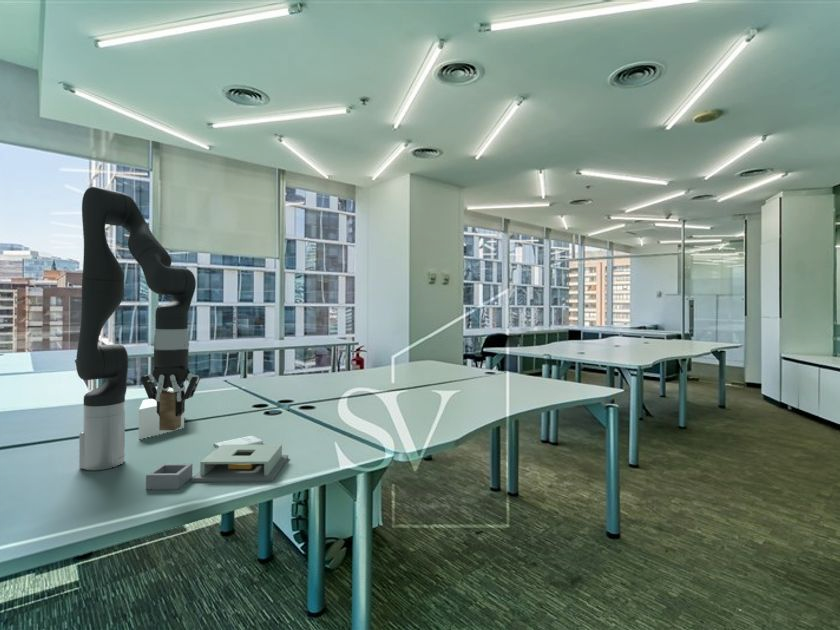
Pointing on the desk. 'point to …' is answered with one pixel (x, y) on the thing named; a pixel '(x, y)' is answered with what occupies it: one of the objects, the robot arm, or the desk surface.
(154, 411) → the white rectangular box
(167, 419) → the brown block
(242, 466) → the breaker button
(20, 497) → the desk surface
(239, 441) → the external hard drive
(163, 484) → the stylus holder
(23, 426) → the desk surface
